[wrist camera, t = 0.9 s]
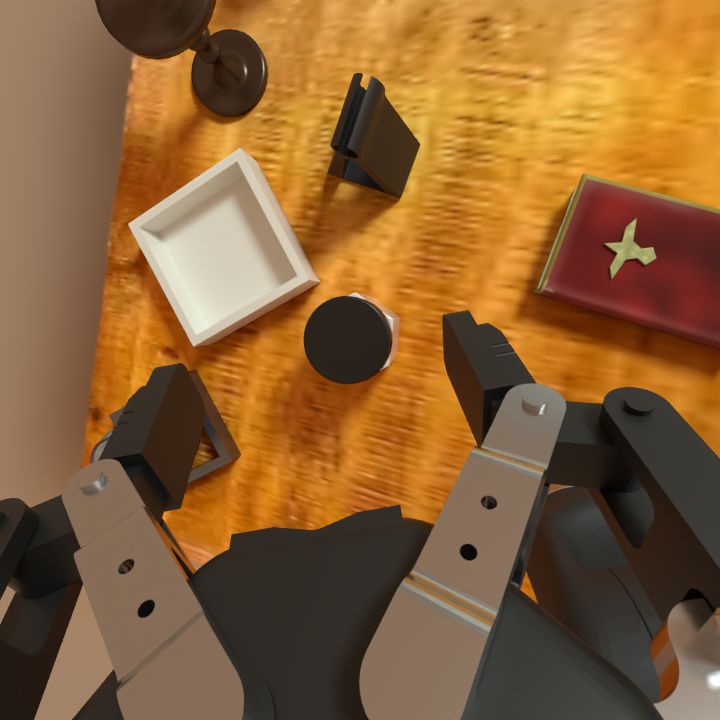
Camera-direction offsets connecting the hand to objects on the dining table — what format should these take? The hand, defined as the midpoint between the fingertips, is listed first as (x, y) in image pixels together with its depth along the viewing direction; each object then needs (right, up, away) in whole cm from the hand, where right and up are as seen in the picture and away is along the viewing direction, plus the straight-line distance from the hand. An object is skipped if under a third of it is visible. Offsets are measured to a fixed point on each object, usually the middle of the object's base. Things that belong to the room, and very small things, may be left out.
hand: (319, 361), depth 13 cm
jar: (+2, +3, +37) cm, 37 cm away
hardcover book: (+32, +10, +32) cm, 46 cm away
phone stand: (+3, +23, +35) cm, 42 cm away
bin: (-14, +13, +39) cm, 43 cm away
